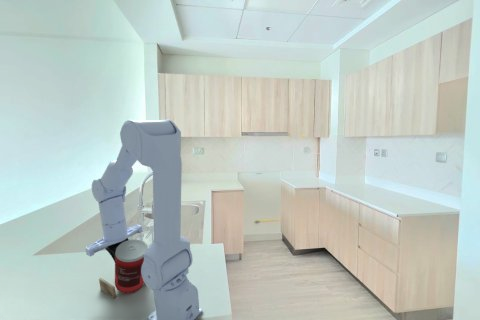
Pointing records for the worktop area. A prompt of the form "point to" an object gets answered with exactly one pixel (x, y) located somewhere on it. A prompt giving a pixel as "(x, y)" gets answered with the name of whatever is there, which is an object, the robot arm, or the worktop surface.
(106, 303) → the worktop surface
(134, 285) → the canned food
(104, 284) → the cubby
